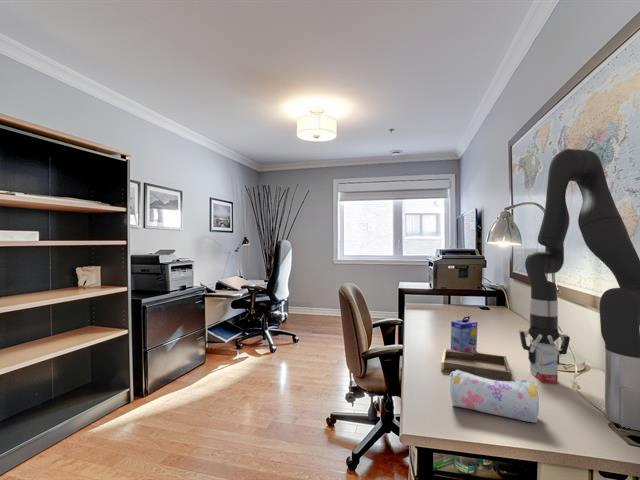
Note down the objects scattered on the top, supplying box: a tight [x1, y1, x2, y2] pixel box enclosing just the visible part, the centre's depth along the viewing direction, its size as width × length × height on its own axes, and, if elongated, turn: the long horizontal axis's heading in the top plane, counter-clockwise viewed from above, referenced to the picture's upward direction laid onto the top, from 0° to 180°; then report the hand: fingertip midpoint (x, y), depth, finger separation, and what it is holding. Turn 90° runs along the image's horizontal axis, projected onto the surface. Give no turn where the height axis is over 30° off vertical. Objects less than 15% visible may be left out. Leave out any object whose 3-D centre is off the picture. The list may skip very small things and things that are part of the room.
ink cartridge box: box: [450, 315, 478, 353], centre depth 134 cm, size 10×6×14 cm, turn 117°
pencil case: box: [449, 370, 540, 423], centre depth 86 cm, size 21×9×10 cm, turn 67°
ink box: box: [529, 338, 559, 384], centre depth 107 cm, size 9×5×12 cm, turn 168°
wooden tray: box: [440, 348, 512, 382], centre depth 116 cm, size 16×21×3 cm
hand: (543, 364), depth 107 cm, fingers closed on ink box, 5 cm apart
